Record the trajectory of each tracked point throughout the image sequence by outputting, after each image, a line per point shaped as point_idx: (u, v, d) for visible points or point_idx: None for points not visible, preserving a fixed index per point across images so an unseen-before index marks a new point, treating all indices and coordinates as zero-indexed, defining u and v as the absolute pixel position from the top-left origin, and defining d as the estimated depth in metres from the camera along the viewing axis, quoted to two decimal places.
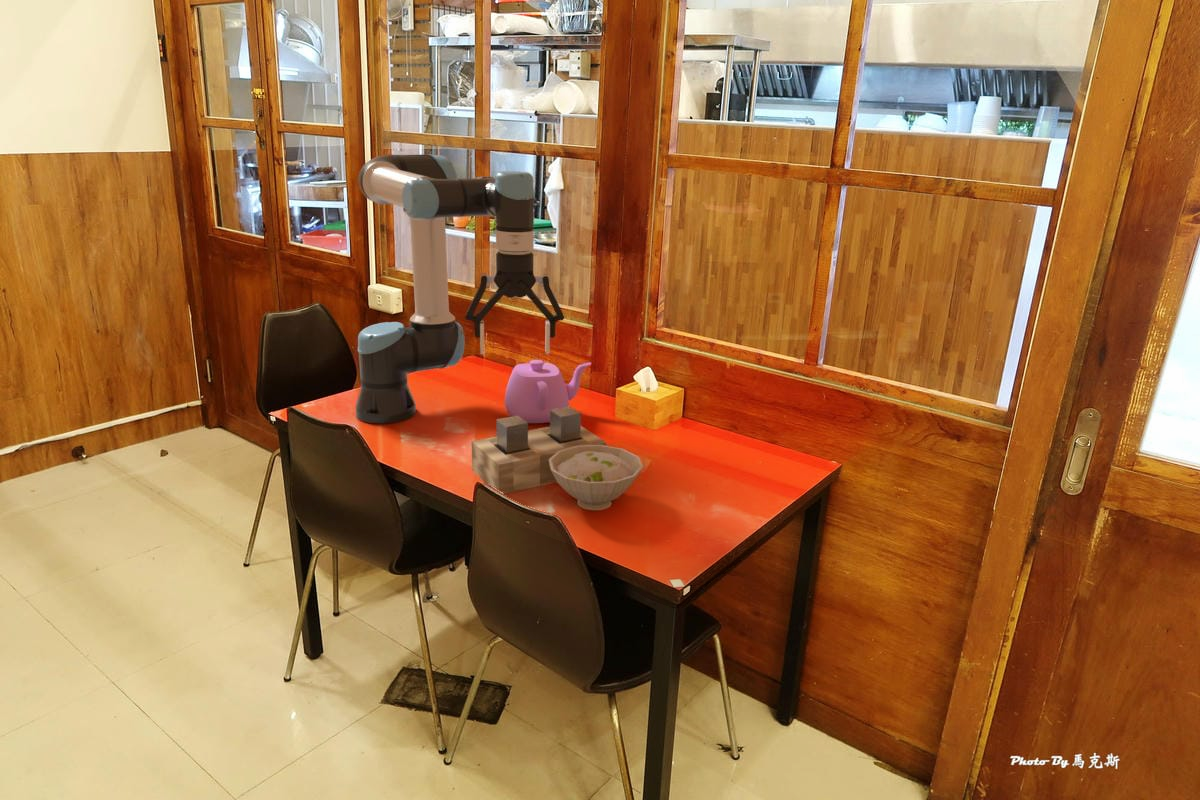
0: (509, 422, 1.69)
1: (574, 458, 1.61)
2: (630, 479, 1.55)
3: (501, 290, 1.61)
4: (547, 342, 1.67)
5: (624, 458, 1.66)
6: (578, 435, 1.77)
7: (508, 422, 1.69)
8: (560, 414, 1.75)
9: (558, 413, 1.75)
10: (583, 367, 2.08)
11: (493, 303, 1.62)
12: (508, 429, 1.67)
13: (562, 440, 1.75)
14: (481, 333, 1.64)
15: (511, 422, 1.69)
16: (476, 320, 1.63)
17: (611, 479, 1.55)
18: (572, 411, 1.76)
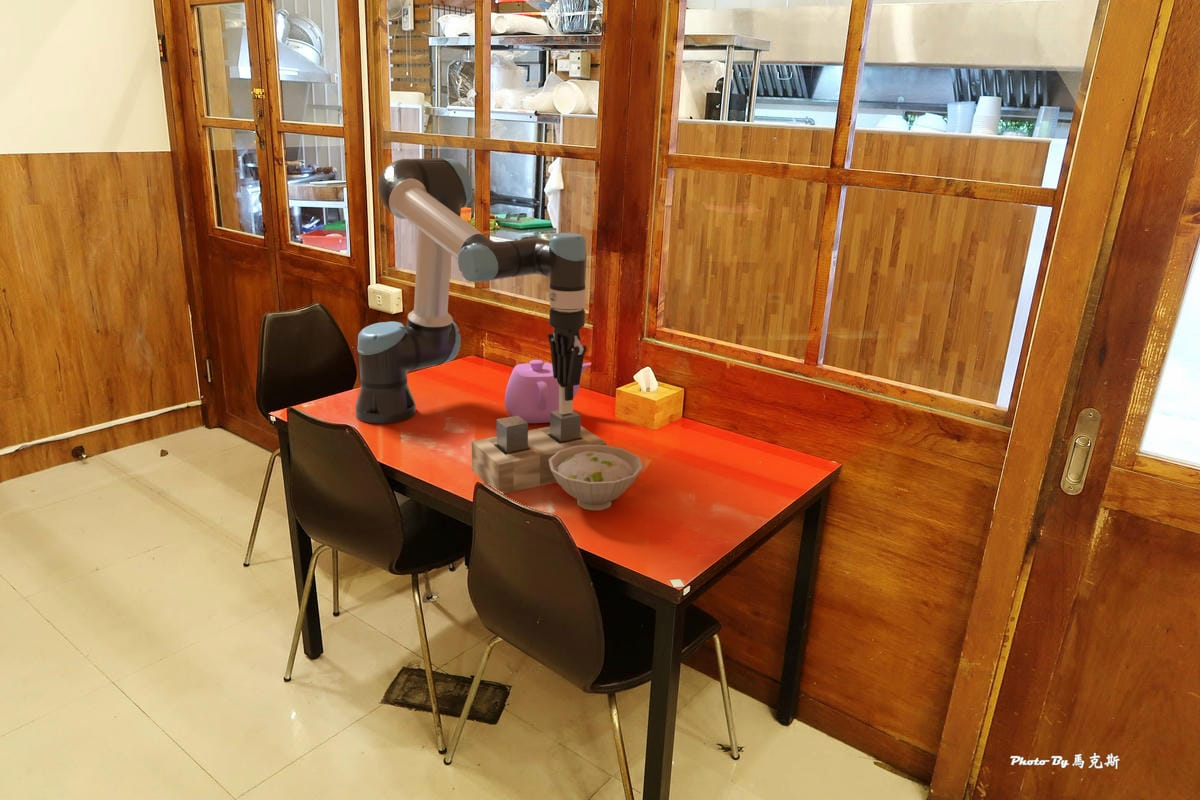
0: (509, 422, 1.69)
1: (574, 458, 1.61)
2: (630, 479, 1.55)
3: (556, 345, 1.72)
4: (561, 403, 1.75)
5: (624, 458, 1.66)
6: (578, 437, 1.77)
7: (508, 422, 1.69)
8: (560, 416, 1.75)
9: (558, 415, 1.75)
10: (583, 367, 2.08)
11: (559, 359, 1.73)
12: (508, 429, 1.67)
13: (562, 442, 1.75)
14: (559, 393, 1.75)
15: (511, 422, 1.69)
16: (557, 381, 1.75)
17: (611, 479, 1.55)
18: (572, 413, 1.77)
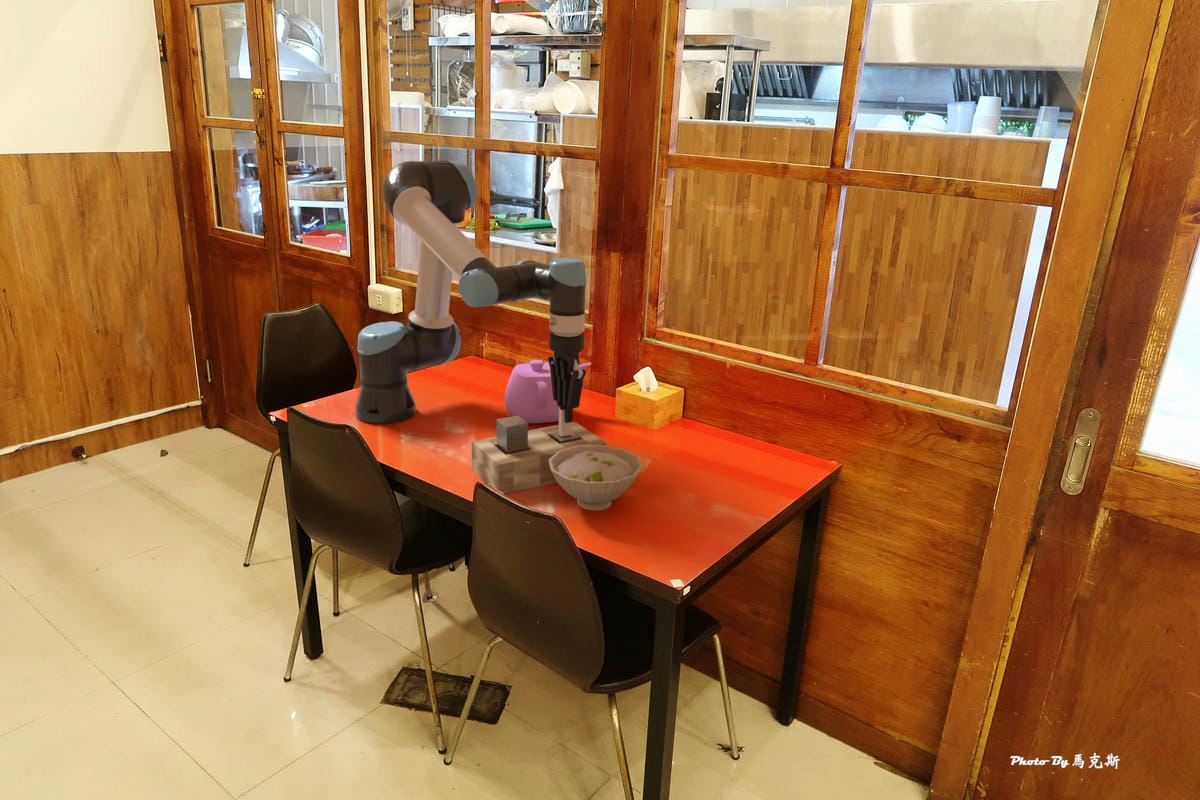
0: (509, 422, 1.69)
1: (574, 458, 1.62)
2: (630, 479, 1.55)
3: (556, 368, 1.74)
4: (560, 425, 1.76)
5: (624, 458, 1.66)
6: None
7: (508, 422, 1.69)
8: (560, 438, 1.76)
9: (558, 437, 1.77)
10: (583, 367, 2.08)
11: (559, 382, 1.74)
12: (508, 429, 1.67)
13: None
14: (559, 415, 1.76)
15: (511, 422, 1.69)
16: (557, 403, 1.76)
17: (611, 479, 1.55)
18: (571, 435, 1.78)
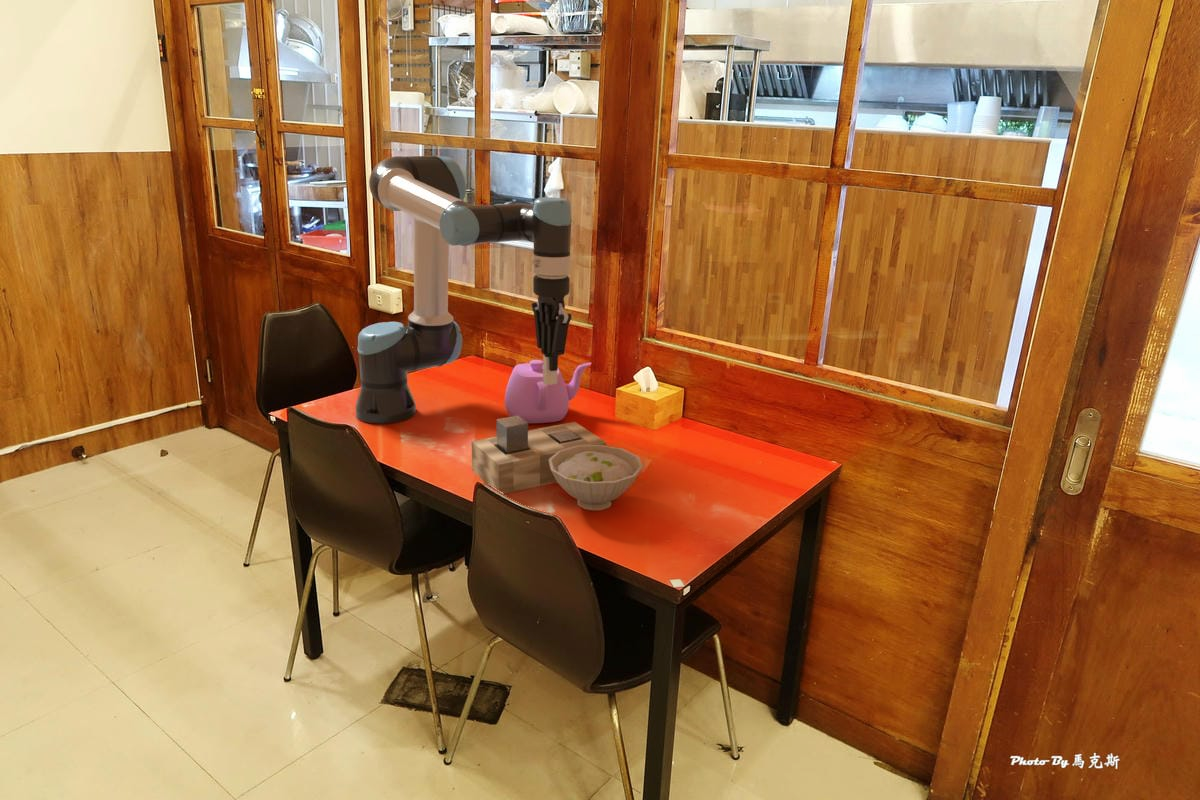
0: (509, 422, 1.69)
1: (574, 458, 1.62)
2: (630, 479, 1.55)
3: (540, 313, 1.68)
4: (545, 373, 1.71)
5: (624, 458, 1.66)
6: None
7: (508, 422, 1.69)
8: (560, 438, 1.77)
9: (558, 437, 1.77)
10: (583, 367, 2.08)
11: (543, 328, 1.68)
12: (508, 429, 1.67)
13: None
14: (543, 363, 1.70)
15: (511, 422, 1.69)
16: (541, 351, 1.70)
17: (611, 479, 1.55)
18: (571, 435, 1.78)
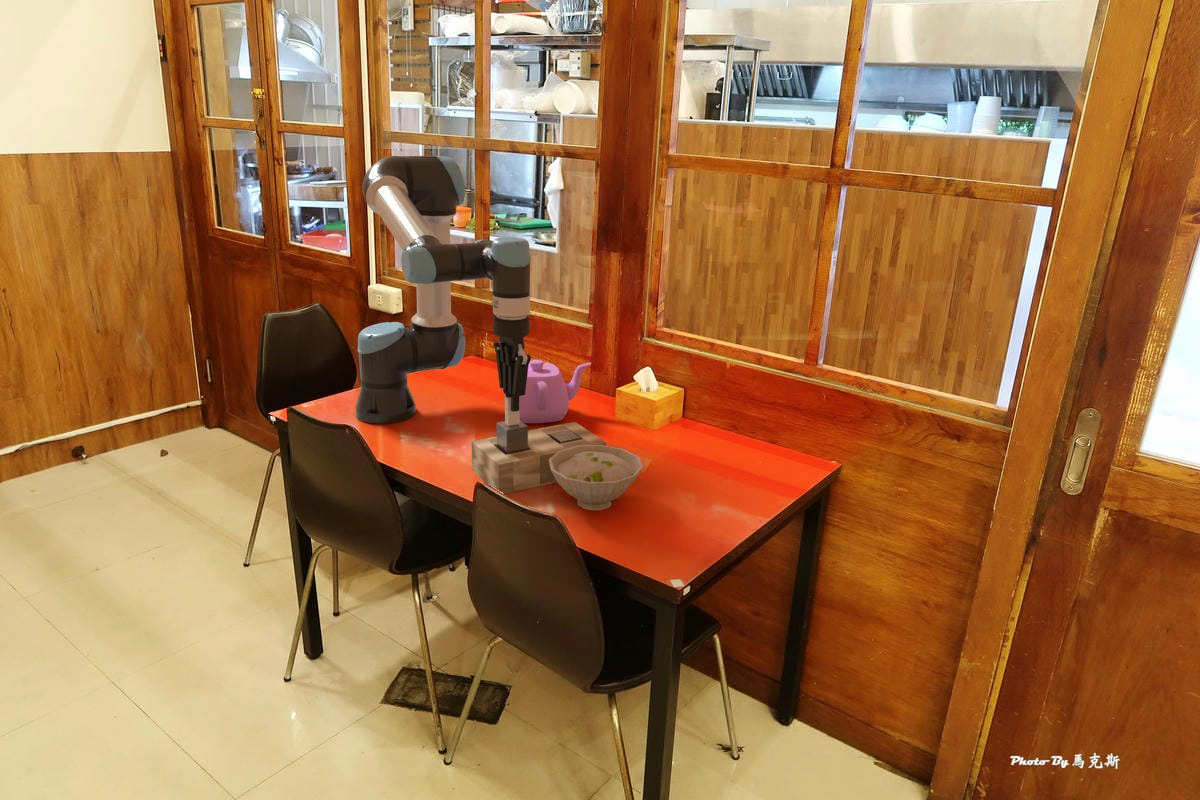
0: None
1: (574, 458, 1.61)
2: (630, 479, 1.55)
3: (501, 353, 1.65)
4: (507, 413, 1.68)
5: (624, 458, 1.66)
6: None
7: None
8: (560, 438, 1.77)
9: (558, 437, 1.77)
10: (583, 367, 2.08)
11: (504, 369, 1.66)
12: (508, 432, 1.67)
13: None
14: (505, 404, 1.68)
15: (511, 425, 1.70)
16: (503, 391, 1.68)
17: (611, 479, 1.55)
18: (571, 435, 1.78)
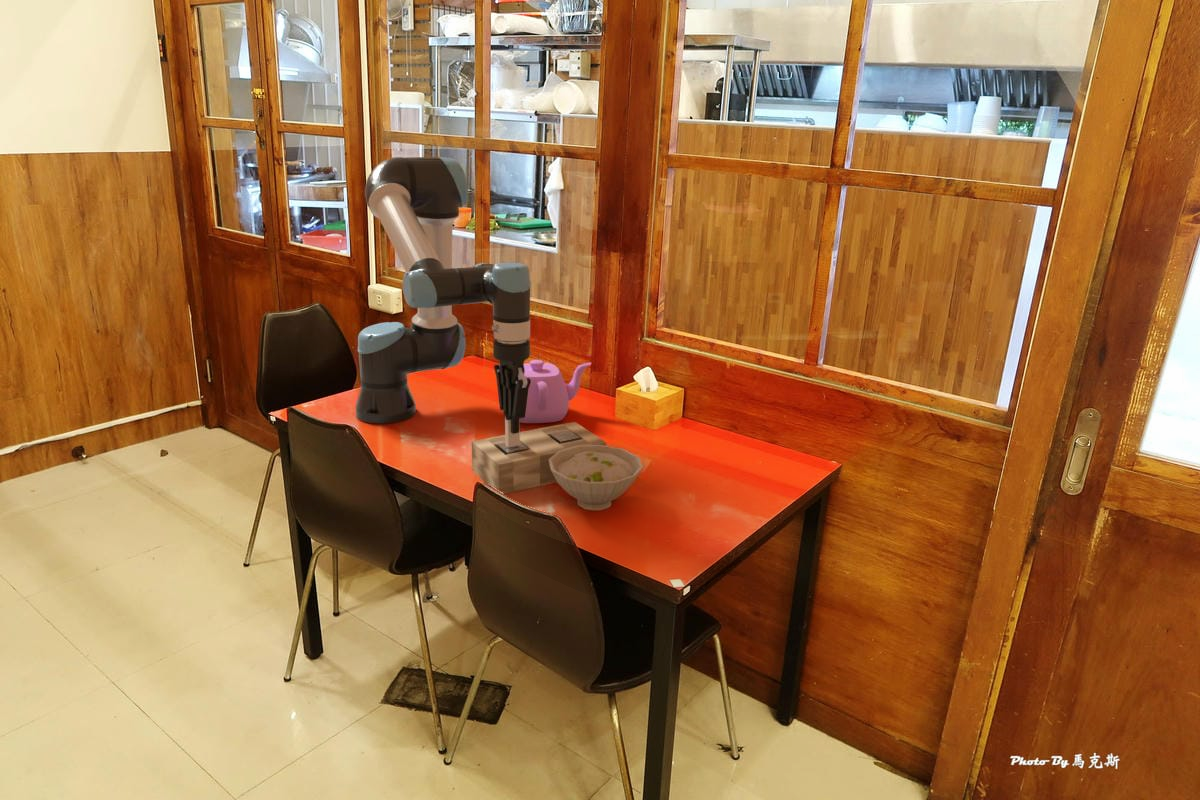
0: (509, 447, 1.71)
1: (574, 458, 1.61)
2: (630, 479, 1.55)
3: (501, 376, 1.67)
4: (507, 435, 1.70)
5: (624, 458, 1.66)
6: None
7: (509, 447, 1.71)
8: (560, 438, 1.77)
9: (558, 437, 1.77)
10: (583, 367, 2.08)
11: (504, 391, 1.68)
12: None
13: None
14: (505, 426, 1.70)
15: (511, 447, 1.71)
16: (503, 413, 1.70)
17: (611, 479, 1.55)
18: (571, 435, 1.78)
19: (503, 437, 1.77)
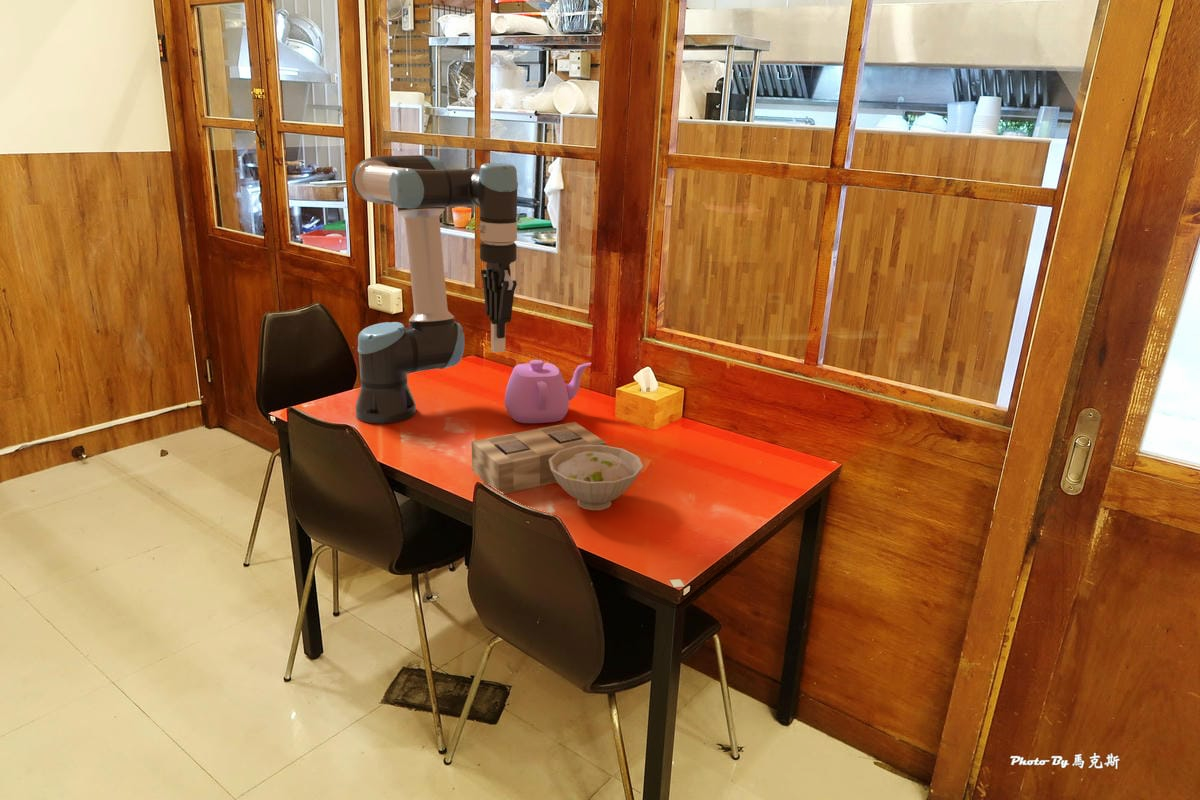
0: (509, 447, 1.71)
1: (574, 458, 1.62)
2: (630, 479, 1.55)
3: (487, 280, 1.68)
4: (492, 340, 1.71)
5: (624, 458, 1.66)
6: None
7: (509, 447, 1.71)
8: (560, 438, 1.77)
9: (558, 437, 1.77)
10: (583, 367, 2.08)
11: (491, 295, 1.69)
12: None
13: None
14: (491, 331, 1.71)
15: (511, 447, 1.71)
16: (489, 318, 1.71)
17: (611, 479, 1.55)
18: (571, 435, 1.78)
19: (503, 437, 1.77)
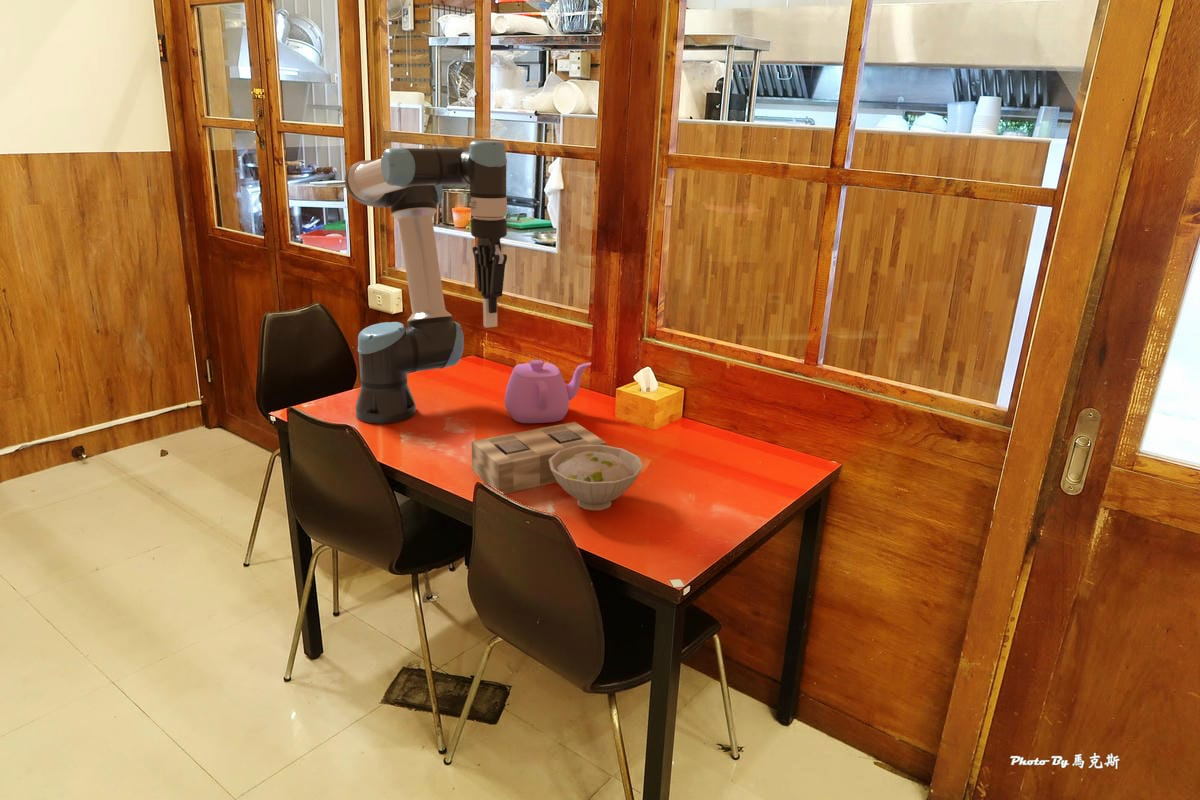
0: (509, 447, 1.71)
1: (574, 458, 1.61)
2: (630, 479, 1.55)
3: (479, 256, 1.71)
4: (485, 315, 1.74)
5: (624, 458, 1.66)
6: None
7: (509, 447, 1.71)
8: (560, 438, 1.77)
9: (558, 437, 1.77)
10: (583, 367, 2.08)
11: (482, 271, 1.72)
12: None
13: None
14: (483, 306, 1.74)
15: (511, 447, 1.71)
16: (481, 293, 1.74)
17: (611, 479, 1.55)
18: (571, 435, 1.78)
19: (503, 437, 1.77)
